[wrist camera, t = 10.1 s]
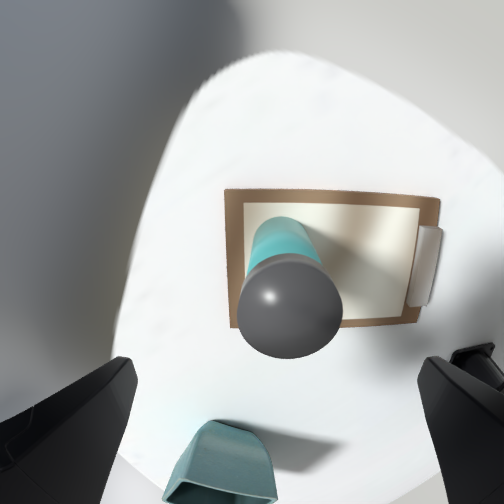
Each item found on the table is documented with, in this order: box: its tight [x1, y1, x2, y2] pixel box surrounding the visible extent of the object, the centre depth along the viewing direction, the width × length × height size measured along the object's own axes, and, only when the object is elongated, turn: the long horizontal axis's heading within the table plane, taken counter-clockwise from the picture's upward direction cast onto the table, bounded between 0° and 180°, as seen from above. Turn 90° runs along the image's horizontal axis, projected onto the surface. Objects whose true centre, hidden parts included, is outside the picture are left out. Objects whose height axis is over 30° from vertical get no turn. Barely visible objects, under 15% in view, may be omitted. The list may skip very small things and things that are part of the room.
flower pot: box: [162, 421, 278, 504], centre depth 22 cm, size 9×9×9 cm
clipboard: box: [224, 189, 442, 328], centre depth 19 cm, size 15×10×1 cm, turn 91°
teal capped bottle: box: [237, 216, 343, 359], centre depth 14 cm, size 4×4×9 cm
